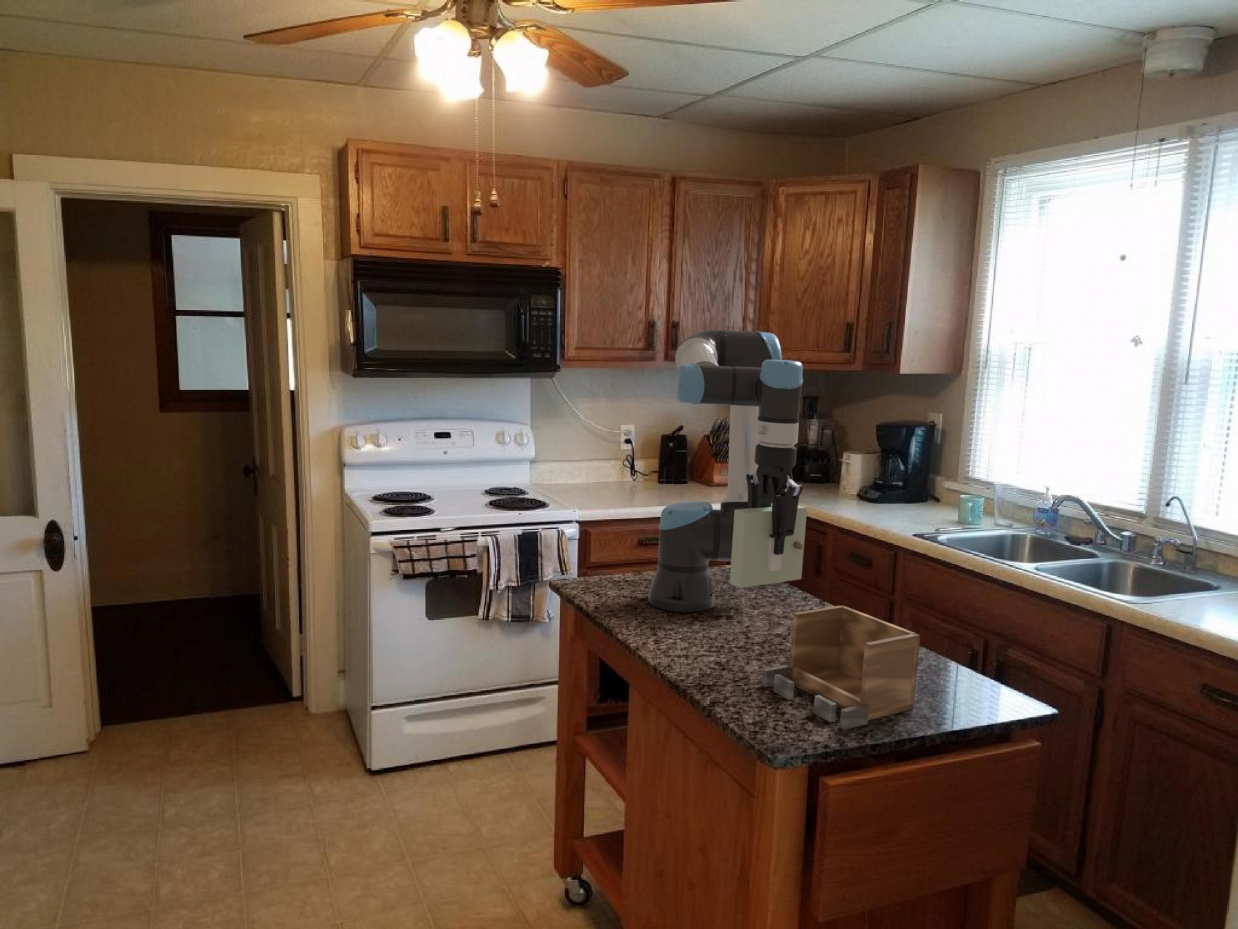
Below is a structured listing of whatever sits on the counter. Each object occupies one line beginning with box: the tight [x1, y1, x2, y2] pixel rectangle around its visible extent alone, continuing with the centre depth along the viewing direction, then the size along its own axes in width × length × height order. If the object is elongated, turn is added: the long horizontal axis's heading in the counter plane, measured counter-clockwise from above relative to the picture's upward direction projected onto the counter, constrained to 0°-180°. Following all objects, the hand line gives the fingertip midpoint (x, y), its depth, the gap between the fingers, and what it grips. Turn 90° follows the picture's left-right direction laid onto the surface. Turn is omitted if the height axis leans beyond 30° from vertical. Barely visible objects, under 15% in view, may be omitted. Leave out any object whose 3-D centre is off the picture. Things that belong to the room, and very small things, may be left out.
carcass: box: [761, 604, 921, 731], centre depth 153 cm, size 20×17×13 cm
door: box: [729, 504, 808, 589], centre depth 166 cm, size 15×4×14 cm, turn 121°
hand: (767, 567), depth 167 cm, fingers closed on door, 3 cm apart
